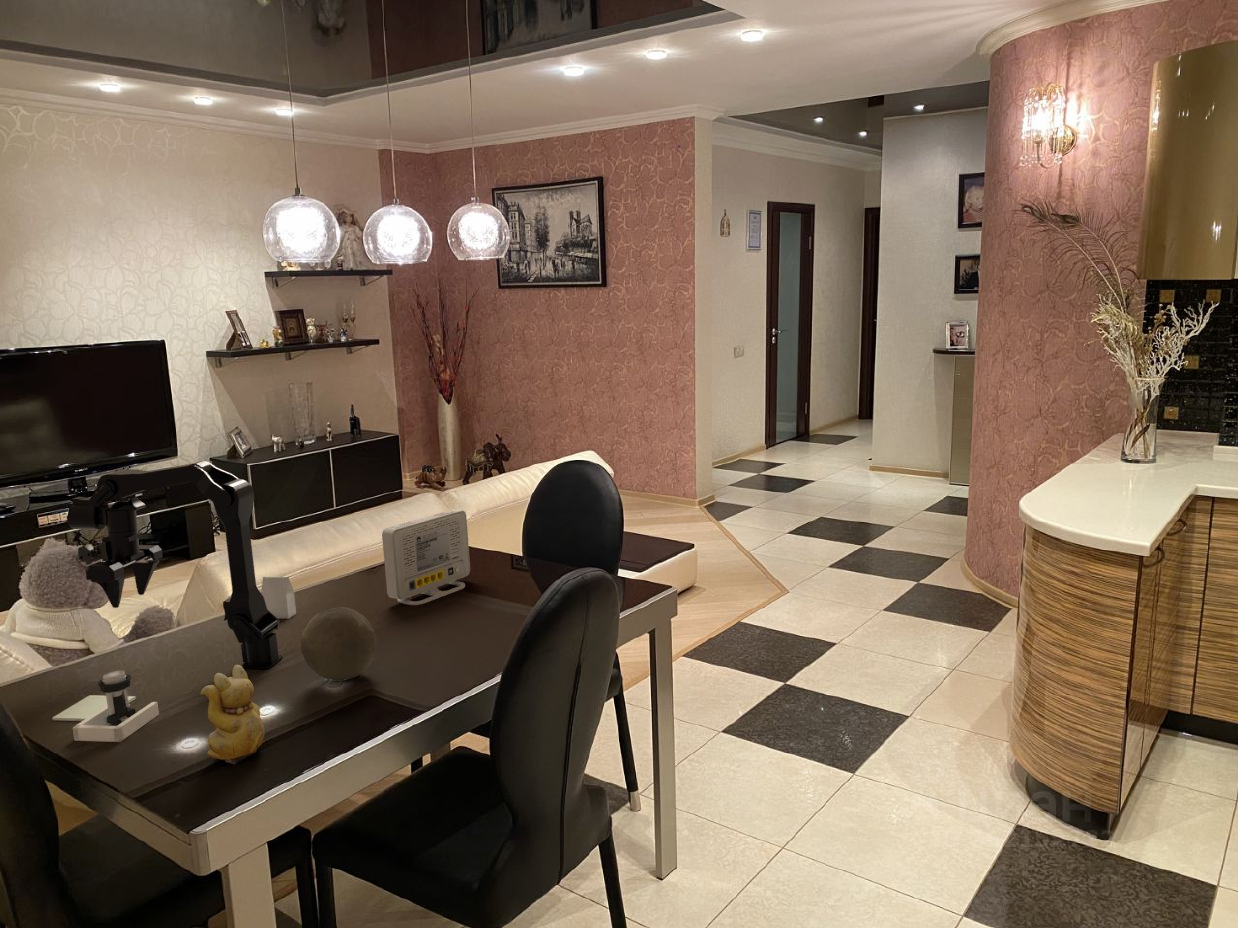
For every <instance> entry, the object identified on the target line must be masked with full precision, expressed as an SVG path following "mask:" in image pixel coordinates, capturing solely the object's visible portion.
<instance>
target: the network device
mask: <svg viewBox="0 0 1238 928" xmlns="http://www.w3.org/2000/svg"><path fill="white" fill-rule="evenodd" d="M381 539H382V551H383V560H384V563H383V564H384V571H385V572H384V573H385V580H386V581H385V583H386V595H387V596H388V597H389V598H391V599H396V600H397V602H398V603H400V604H403V605H409V606H419V605H423V604H426V603H429V602H431V601H434V600H437V599H439V598H441V597H445V596H447V595H450V594H453V593H455V592H457V591H460V590H463V589H464V588H465V587H466V583H465V582H463V581H459V580H460V579H463V578H465V577H468V576H469V574H470V573H471V560H470V548H469V534H468V520H467V512H465V510H460V509H453V508H451V509H449V510H446V511H442V512H439V513H438V512H437V513H434V514H431V515H427V516H424V517H420V518H416V519H413V520H408V521H406V522H402V523H399V524H396V525H392V526H391V525H390V526H388V527H385V528H384V529H383V530H382V532H381ZM446 584H447V585H448V584H449V585H453V586H456V587H454V588H451V589H448V590H440V589H439V588H438V587H441V586H444V585H446ZM420 594H421V595H422V594H423V595H428V596H430V597H426V598H424V599H421V600H417V601H413V600H410V599H408V598H410V597H414V596H416V595H420Z"/></svg>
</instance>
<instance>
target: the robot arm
mask: <svg viewBox="0 0 1238 928" xmlns="http://www.w3.org/2000/svg"><path fill="white" fill-rule="evenodd" d="M190 483H191V484H193V485H194V486H196V487H197V489H198V490H199V492H200V493H201V494H202V496H204V498H207V499H208V500H209V501H211V502H212V504H213V507H214V511H215V514H216V515H217V517H218V519H219V520H220V522H221V523H222V524H223V528H224V533H225V534H224V535H225V541H226V550H227V558H228V566H229V573H230V582H231V595H230V597H228V598H227V599H225V600H223V601H222V608H223V610H224V619H223V621H225V622H226V624H227V626H228V628H229V629H230V630H232V631H233V633H234V636H235V637H236V639H237V642H238V643H239V644H240V651H241V661H242V664H241V665H240V666H242V668H243V669H254V670H255V669H256V670H257V669H259V670H260V669H261V670H263V669H264V670H267V669H270V668H271V667H273V666H274V665H275V664H277V663H278V662H279V661H280V660H282V659H283V658H284V657H283V655H282V654H281V655H280V654H279V646H278V645H279V644H278V638H277V637H278V636H277V633H276V632H275V631H277V630H278V629H279V627H280V622H281V620H280V618H277V617H276V616H274V615H273V614H272V613H271V612H270V611H269V610H268V609H267V607H266V603H265V600H264V597H263V595H262V594H261V591H260V589H259V588H258V587H257V580H256V572H255V565H254V555H253V546H252V537H251V529H250V519H251V516H252V513H253V509H254V504H255V503H254V501H255V490H254V487H253V485H252V484H250V483H249V482H248V481H247V480H244V479H241V478H238V477H237V476H235V475H234V474H233V473H231V472H228V471H226V470H223V469H221V468H219V467H217V466H216V465H214V464H212V463H210V461H206V460H200V461H196V462H192V463H187V464H183V465H182V464H181V465H175V466H170V467H169V466H168V467H164V468H157V469H152V470H143V469H135V468H134V469H131V468H130V469H128V468H124V469H120V470H116V471H113V472H109V473H106V474H104V475H103V474H102V475H100V476H99V478H98V481H97V484H96V488H95V490H94V492H93V493H92V495H91V496H90V497H85V496H77V497H74V498H72V499H71V503H72V504H71V505H70V506H69V508H68V511H67V515H66V522H67V524H68V526H69V527H70V528H71V529H73V530H103V529H105V527H106V535H105V536H102V538H101V543H100V544H97V545H94V546H93V545H92V544H90V543H88V544H87V543H86V544H85V545H82V546H80V547H78V548H77V556H78V557H77V559H78V560H79V561H80V562H84V563H85V565H86V566H87V567H86V568H85V569H84V575H85V580H86V581H90V582H91V583H96V584H97V585H99V586H100V587H101V588H102V590H103V591H104V593H105V595H106V597H107V599H108V601H109V603H110V605H111V607H112V608H113V609H118V608H119V607H120V603H121V600H122V594H123V590H124V589H123V588H124V584H125V579H126V576H124V572H125V568H126V567H128V566H129V568H131V569H132V571H133V575H134V579H135V580H134V581H135V586H136V590H137V594H138V596H143V595H145V592H146V591H147V588H148V586H149V583H150V582H151V581H150V580H151V578H152V575H153V574H154V571H155V569H156V567H157V565H158V564H159V563H160V560H159V559H162V558H163V549H162V548H161V546H159V545H158V544H156V545H155V544H154V545H153V544H149V545H148V544H146V545H145V544H140V542H139V539H141V538H142V537H144V535H143V532H142V531H138V530H139V529H138V520H137V511H138V510H141V509H144V508H146V507H147V505H146V504H145V503H144V502H142V501H141V500H140V499H138V497H136V496H135V497H133V498H132V497H131V496H133V495H135V494H137V493H141V492H143V491H147V490H153V489H159V488H165V487H171V486H178V485H185V484H190ZM129 496H130V499H128V500H121V499H123V498H126V497H129ZM117 500H118V501H117ZM114 501H115V502H114ZM111 502H114V503H113V504H109V503H111ZM100 560H101V561H100ZM93 562H95V563H93ZM92 563H93V564H92Z"/></svg>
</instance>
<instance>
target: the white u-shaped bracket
mask: <svg viewBox="0 0 1238 928" xmlns="http://www.w3.org/2000/svg"><path fill="white" fill-rule="evenodd" d="M158 703H159V702H158V701H152V702H150V703H149V704H147V705H145V706H144V707H143V708H141V709H139V710H138V711H137V712H136V713H135V714H134V715H132V716H131V717H130V718H128V719H127V720H125V721H124V722H122V723H121V724H119V725H118V726H102V725H104V724H106V723H105V716H107V715H108V706H105V707H104V708H102V709H101V710H99V711H98V712H96V713H94V714H93V715H91V716H90V717H88V718H87V719H85V720H83V721H79V723H77V724H76V725H74V726H73V727H72V734H73V739H74V741H75V742H76V741H77V742H78V741H79V742H111V743H112V742H113V743H115V742H116V743H121V742H122V741H123V740H125V739H126V738H128V737H129V736H131V735H132V734H134V733H135V732H137V730H139V729H140V728H142V727H143V726H145V725H146V724H148V723H150V721H152V720H153V719H155V718H156V717H157V716H159V715H160V710H159V705H158Z"/></svg>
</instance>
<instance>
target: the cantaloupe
mask: <svg viewBox="0 0 1238 928" xmlns="http://www.w3.org/2000/svg"><path fill="white" fill-rule="evenodd" d="M300 649H301V653H302V656H303V658H304V661H305V662H306V665H307V666H308V667H309V668H310V669H311V670H312V671H314V672H315V673H316V674H317V675H319V676H320V677H322V678H324V679H328V680H332V681H334V682H341V681H343V682H344V681H346V680H351V679H353V678H356V677H358V676H359V675H361V674H362V673H364V672H365V670H366V669H368V668H369V667H370V665H371V664H372V662H373V660H374V658H375V655H376V651H377V637H376V634H375V630H374V627H373V626H372V624H371V623H370V621H369V620H368V619H367V617H365V616H364V615H363V614H361V613H360V612H358V611H357V610H355V609H354V608H350V607H346V606H345V607H344V606H337V607H333V608H328V609H325V610H322V611H320V612H318V613H317V614H314V616H313V617H312V618H310V620H309V621H308V623H307V625H306V627H305V628H304V629H303V631H302V634H301V639H300Z"/></svg>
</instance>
